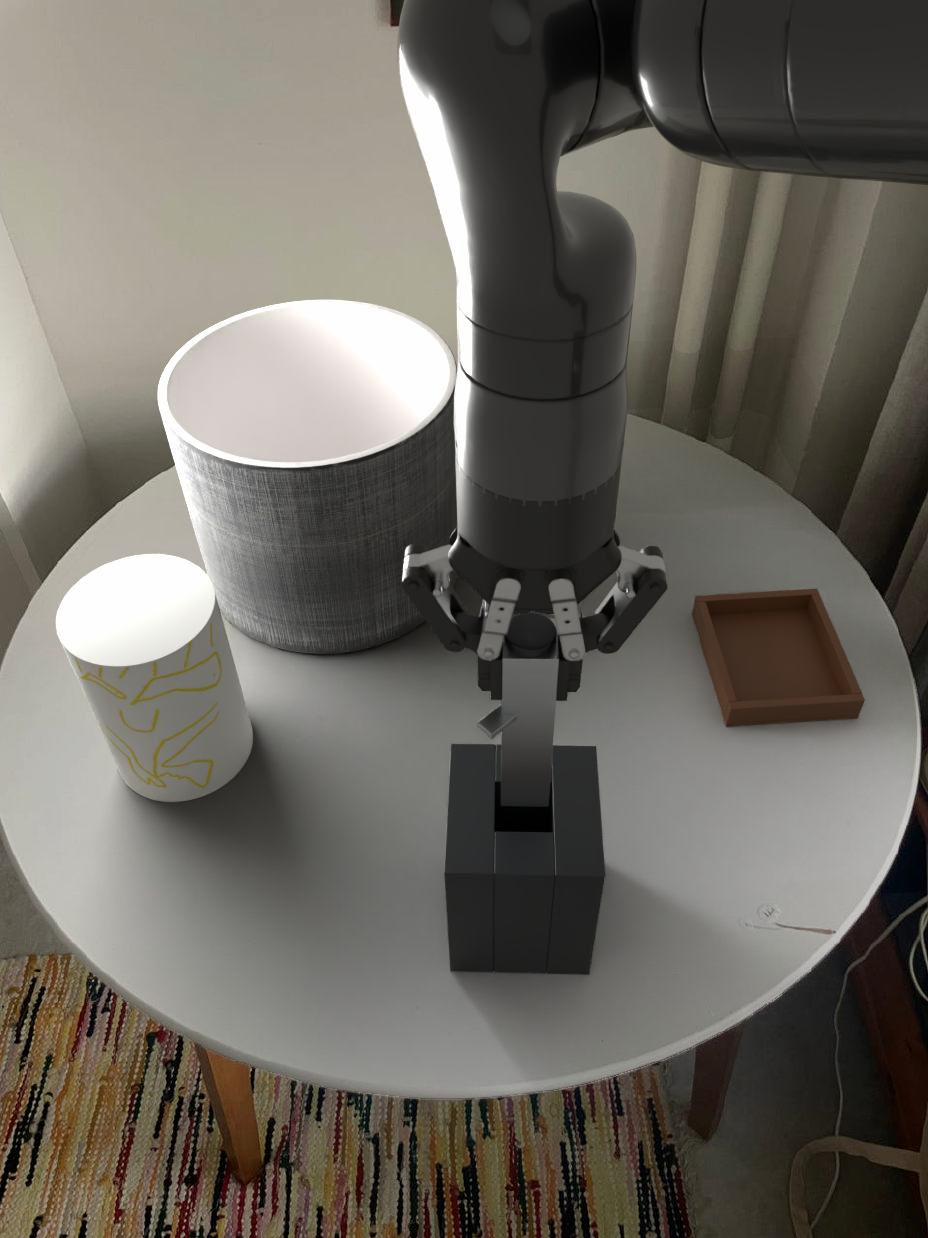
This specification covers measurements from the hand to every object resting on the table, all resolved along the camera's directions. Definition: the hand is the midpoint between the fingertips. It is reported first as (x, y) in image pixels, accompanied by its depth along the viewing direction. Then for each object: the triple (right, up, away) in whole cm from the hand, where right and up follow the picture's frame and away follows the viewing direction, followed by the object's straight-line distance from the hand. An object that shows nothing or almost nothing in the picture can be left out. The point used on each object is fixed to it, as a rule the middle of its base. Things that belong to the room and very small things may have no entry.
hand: (528, 688), depth 58 cm
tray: (+24, 0, +35) cm, 43 cm away
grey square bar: (0, -7, +7) cm, 10 cm away
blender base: (0, -18, +19) cm, 26 cm away
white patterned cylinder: (-28, -7, +30) cm, 42 cm away
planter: (-17, +9, +46) cm, 49 cm away
